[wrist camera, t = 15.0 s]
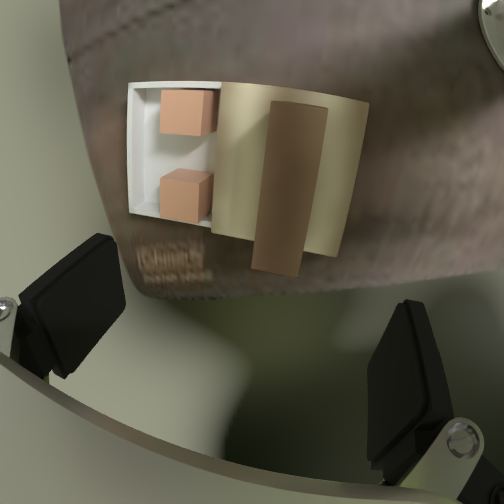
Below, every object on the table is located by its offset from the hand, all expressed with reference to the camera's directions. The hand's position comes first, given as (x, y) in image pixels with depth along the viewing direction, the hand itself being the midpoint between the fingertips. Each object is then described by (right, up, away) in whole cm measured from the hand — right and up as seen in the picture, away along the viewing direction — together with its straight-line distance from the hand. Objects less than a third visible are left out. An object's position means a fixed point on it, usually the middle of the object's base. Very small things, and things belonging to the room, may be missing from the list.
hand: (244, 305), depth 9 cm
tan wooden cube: (-4, +7, +20) cm, 21 cm away
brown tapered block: (+4, +8, +15) cm, 18 cm away
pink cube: (-3, +14, +16) cm, 21 cm away
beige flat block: (+4, +10, +19) cm, 22 cm away
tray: (-7, +12, +21) cm, 25 cm away
